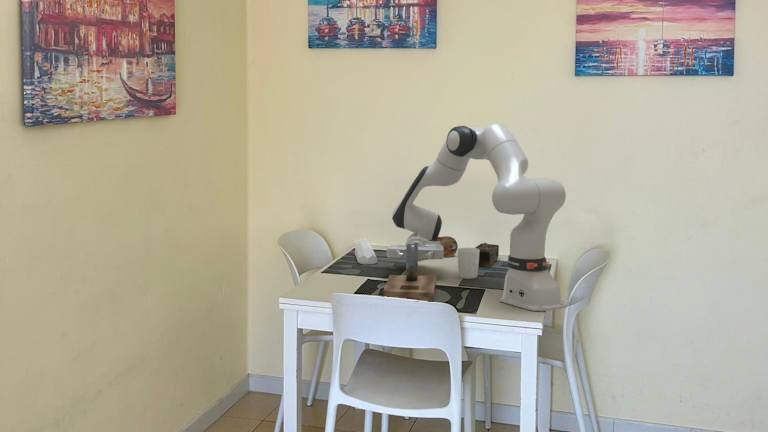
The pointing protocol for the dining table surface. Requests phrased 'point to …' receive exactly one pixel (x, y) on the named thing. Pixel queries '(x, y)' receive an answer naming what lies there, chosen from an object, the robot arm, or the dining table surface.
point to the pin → (411, 262)
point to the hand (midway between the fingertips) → (414, 256)
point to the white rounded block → (365, 252)
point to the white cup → (468, 262)
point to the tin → (448, 245)
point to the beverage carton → (487, 254)
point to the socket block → (410, 287)
